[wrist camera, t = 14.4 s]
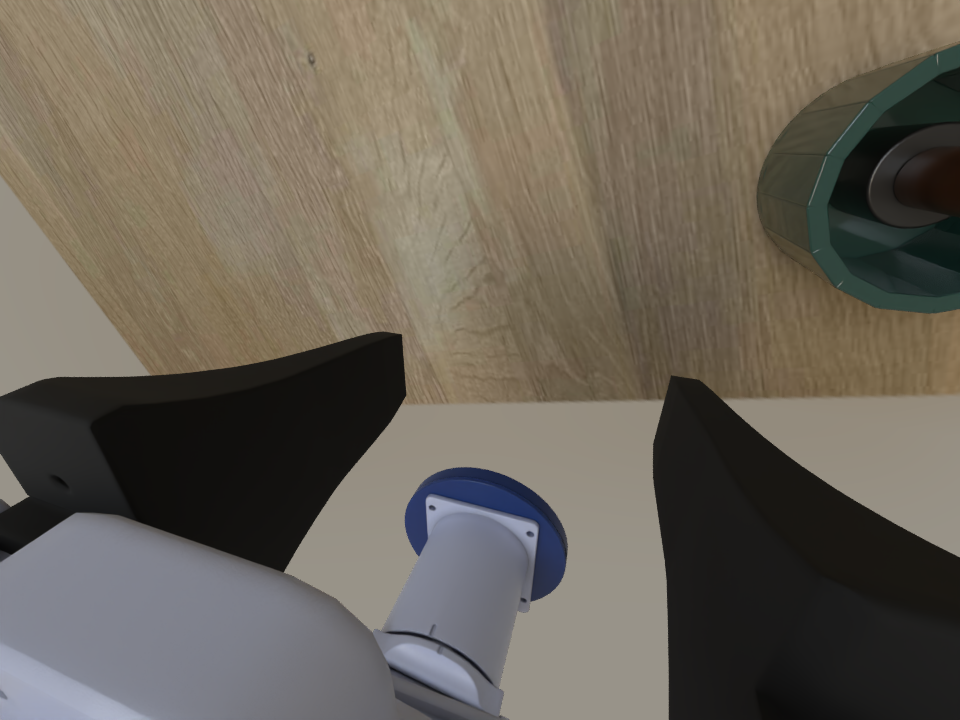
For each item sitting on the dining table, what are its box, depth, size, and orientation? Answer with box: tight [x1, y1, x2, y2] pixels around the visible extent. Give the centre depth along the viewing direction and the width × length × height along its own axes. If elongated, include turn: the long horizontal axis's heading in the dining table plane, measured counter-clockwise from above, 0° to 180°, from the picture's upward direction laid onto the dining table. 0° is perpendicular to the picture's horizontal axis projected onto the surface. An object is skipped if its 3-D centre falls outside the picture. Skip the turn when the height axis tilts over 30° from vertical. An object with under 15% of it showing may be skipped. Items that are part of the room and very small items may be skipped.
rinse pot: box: [757, 41, 960, 314], centre depth 13 cm, size 7×7×6 cm
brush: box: [829, 121, 960, 229], centre depth 11 cm, size 3×3×7 cm
